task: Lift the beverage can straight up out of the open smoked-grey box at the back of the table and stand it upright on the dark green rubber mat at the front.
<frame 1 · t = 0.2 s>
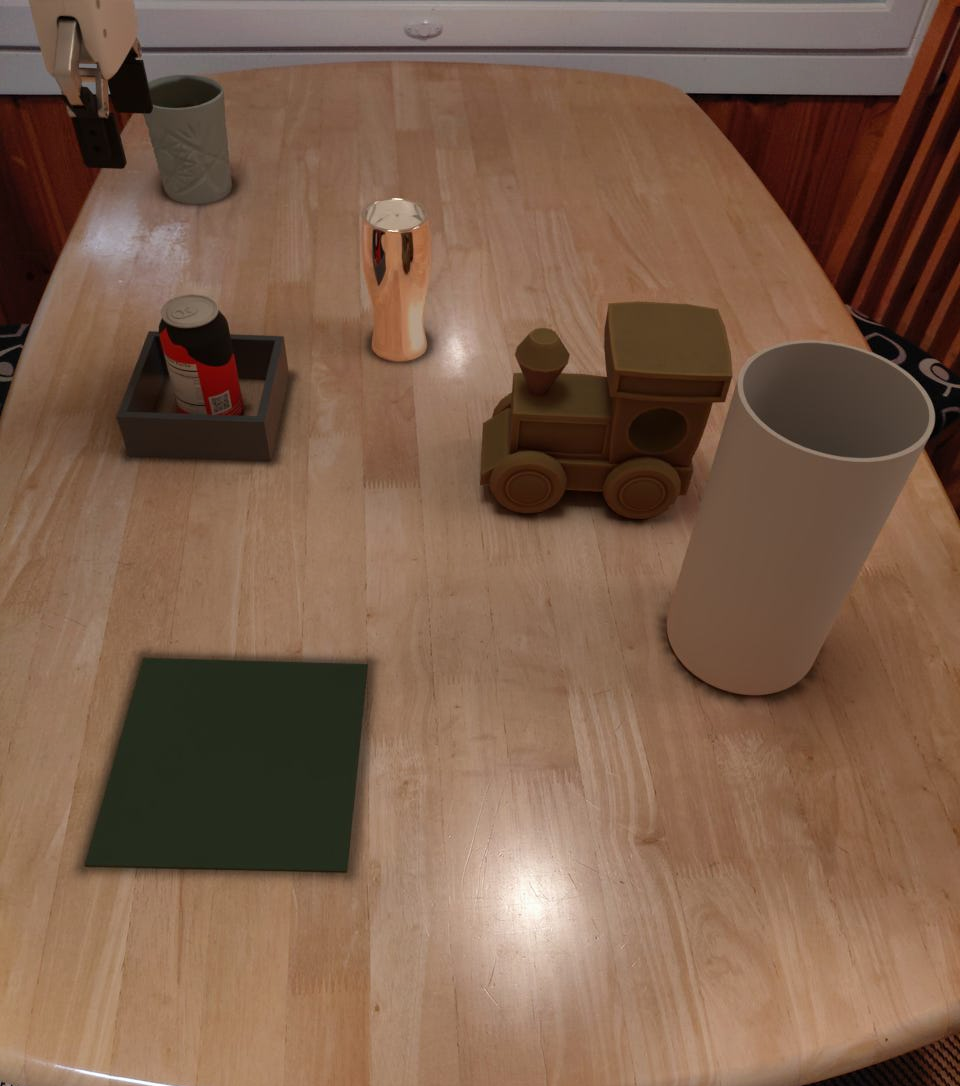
hand: (121, 138, 79), 26 cm above the table, tool pointing down, fingers open, 9 cm apart
beer glass: (399, 347, 106), on the table
box: (213, 415, 97), on the table
grey-green embossed pot: (199, 190, 126), on the table
wooden toy train: (583, 483, 93), on the table
cylinder vase: (737, 640, 82), on the table
beverage can: (213, 417, 97), resting in box
mat: (238, 759, 72), on the table
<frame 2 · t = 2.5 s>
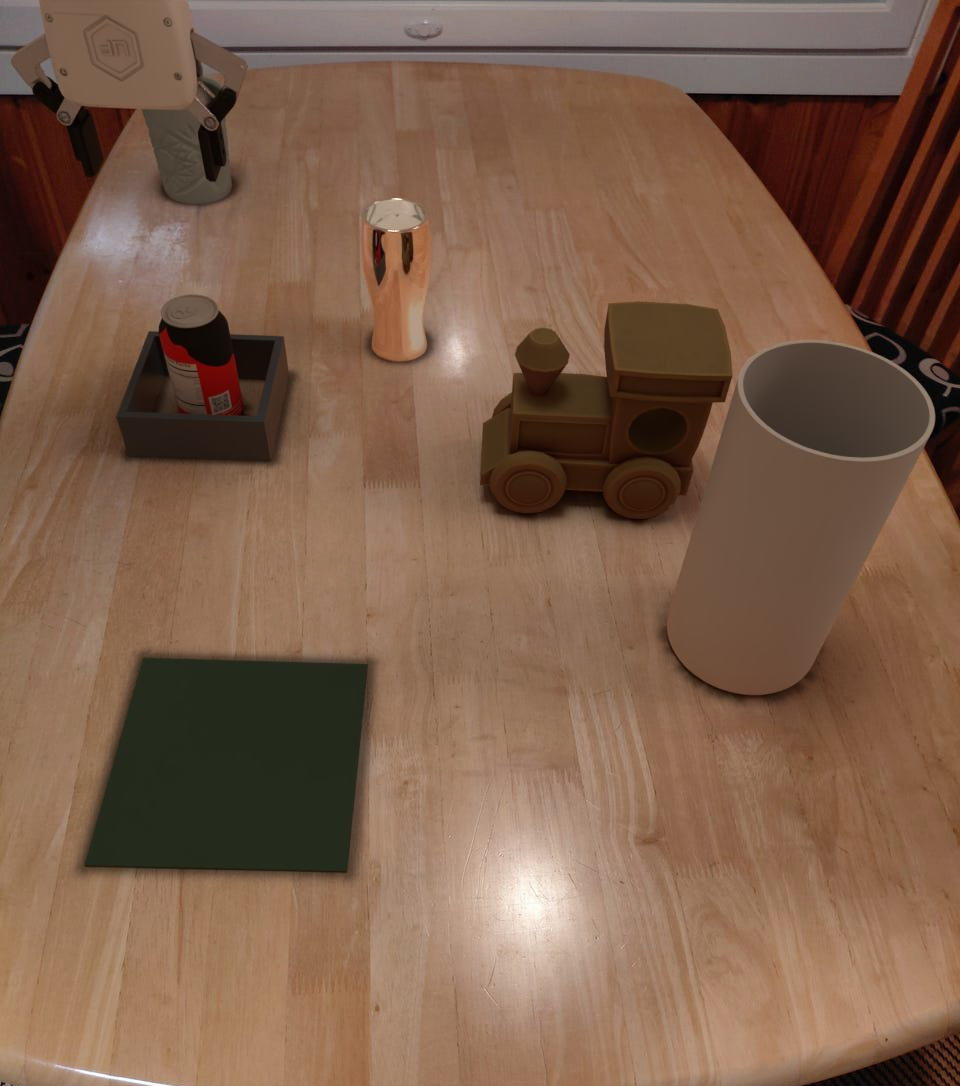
hand: (155, 171, 78), 24 cm above the table, tool pointing down, fingers open, 9 cm apart
nothing on the table moved.
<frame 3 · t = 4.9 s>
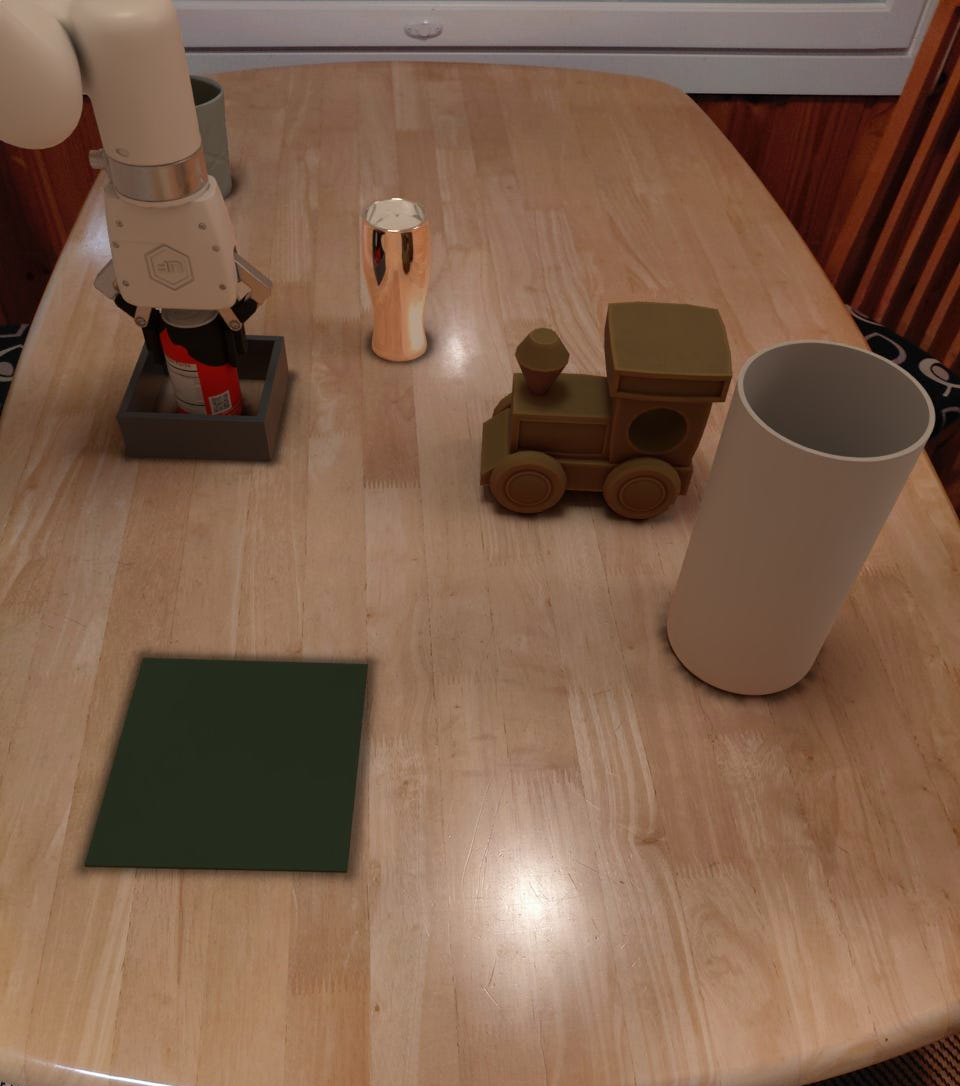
hand: (199, 356, 92), 7 cm above the table, tool pointing down, fingers closed on beverage can, 6 cm apart
beverage can: (213, 417, 97), resting in box, touching gripper
everything else where it was.
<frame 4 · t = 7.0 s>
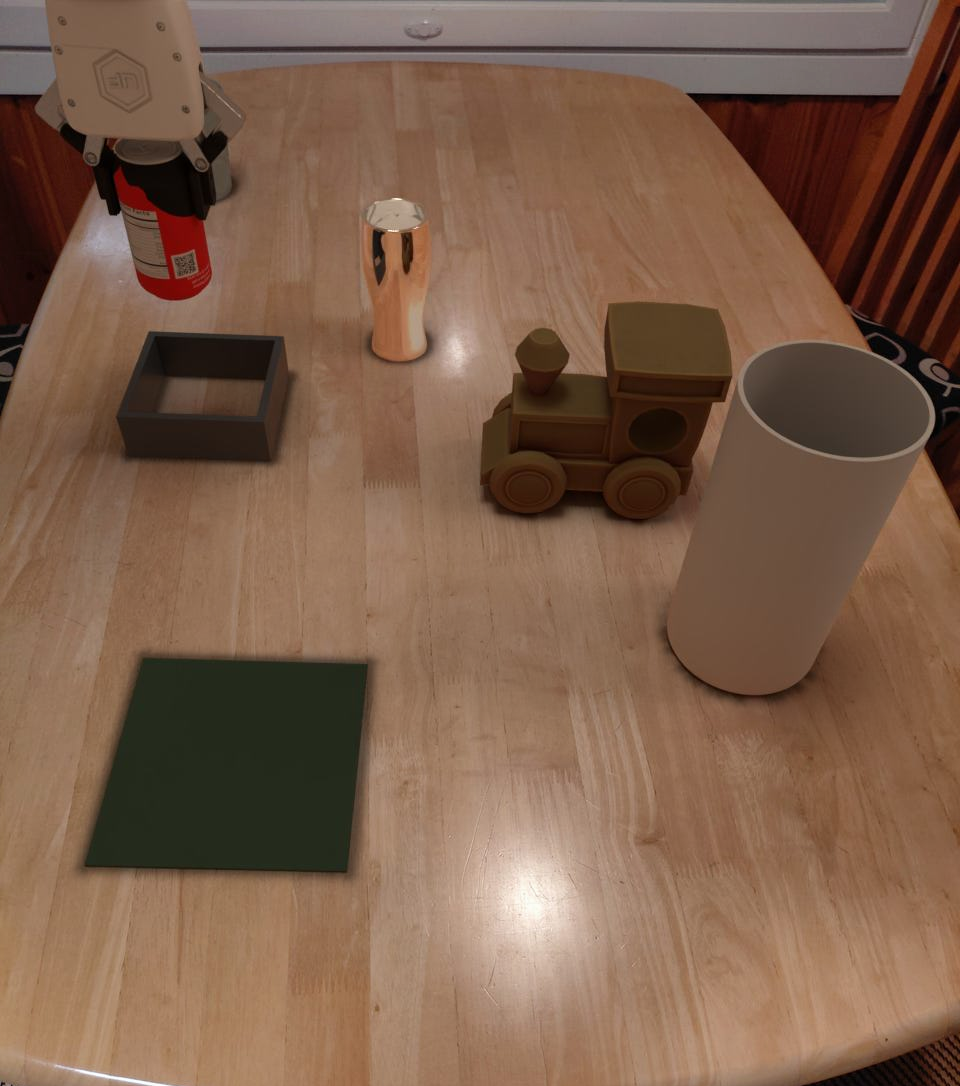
hand: (161, 208, 79), 22 cm above the table, tool pointing down, fingers closed on beverage can, 6 cm apart
beverage can: (177, 288, 85), point 15 cm above the table, touching gripper
everything else where it was.
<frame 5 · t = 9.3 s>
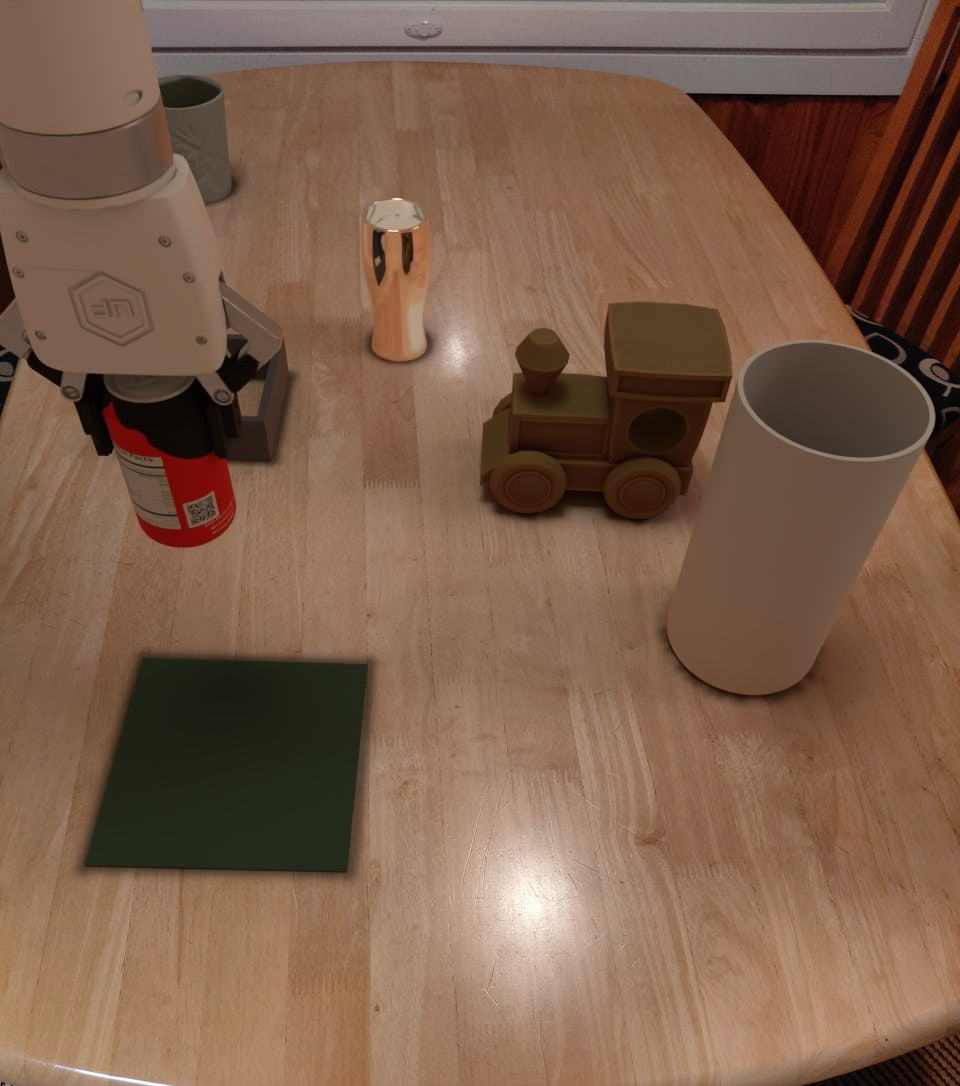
hand: (168, 440, 59), 24 cm above the table, tool pointing down, fingers closed on beverage can, 6 cm apart
beverage can: (191, 525, 64), point 17 cm above the table, touching gripper
everything else where it was.
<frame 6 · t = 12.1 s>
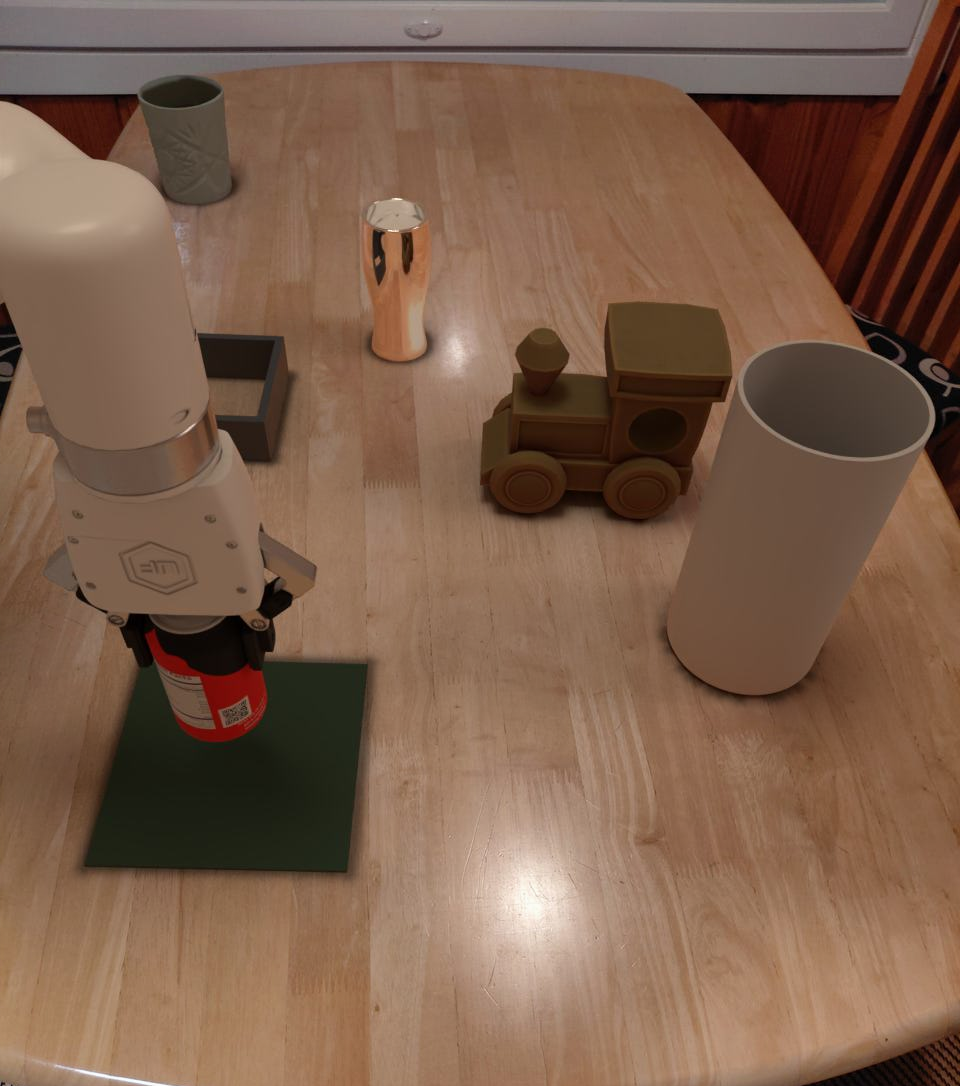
hand: (205, 650, 62), 13 cm above the table, tool pointing down, fingers closed on beverage can, 6 cm apart
beverage can: (224, 713, 68), point 6 cm above the table, touching gripper
everything else where it was.
when the fingers open (7 cm above the table, at t = 14.0 s): beverage can stays where it is, resting on mat.
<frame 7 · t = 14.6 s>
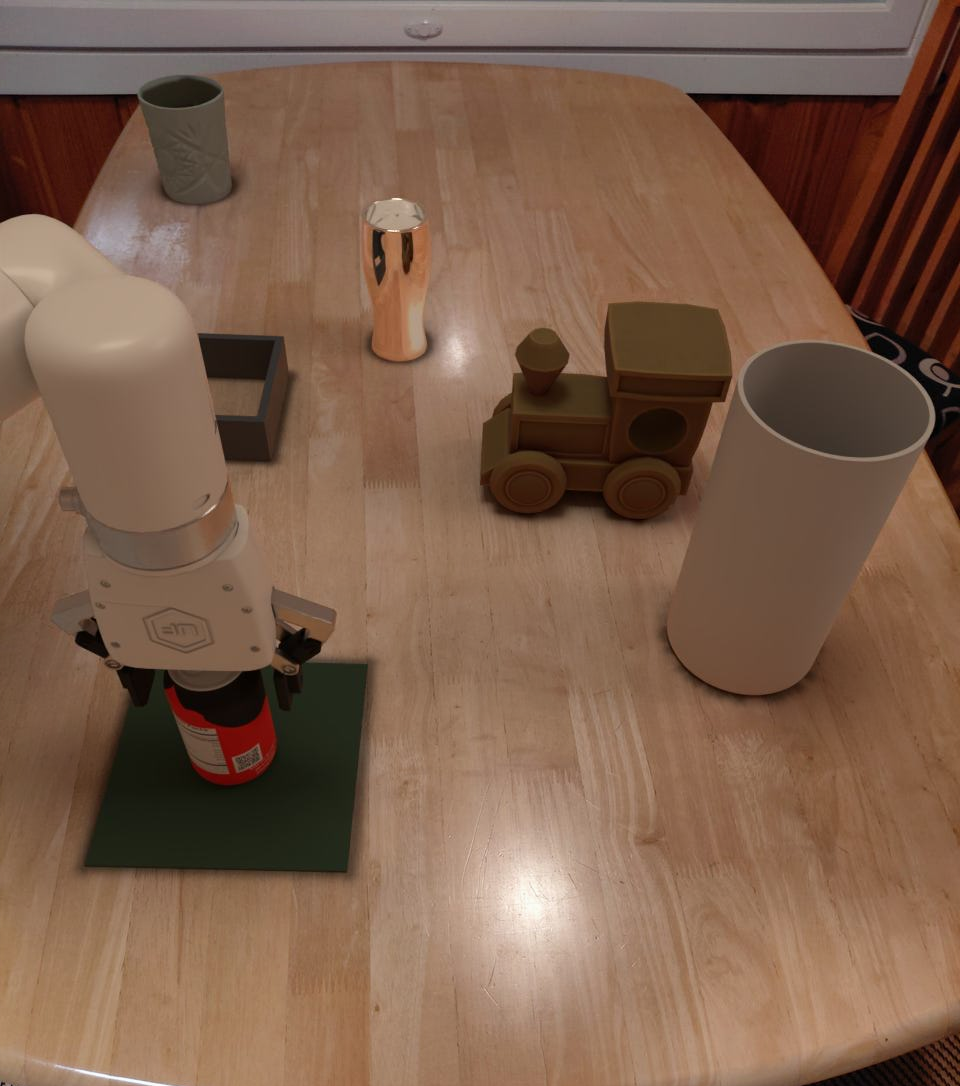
hand: (217, 691, 66), 9 cm above the table, tool pointing down, fingers open, 9 cm apart
beverage can: (236, 756, 72), resting on mat
everything else where it was.
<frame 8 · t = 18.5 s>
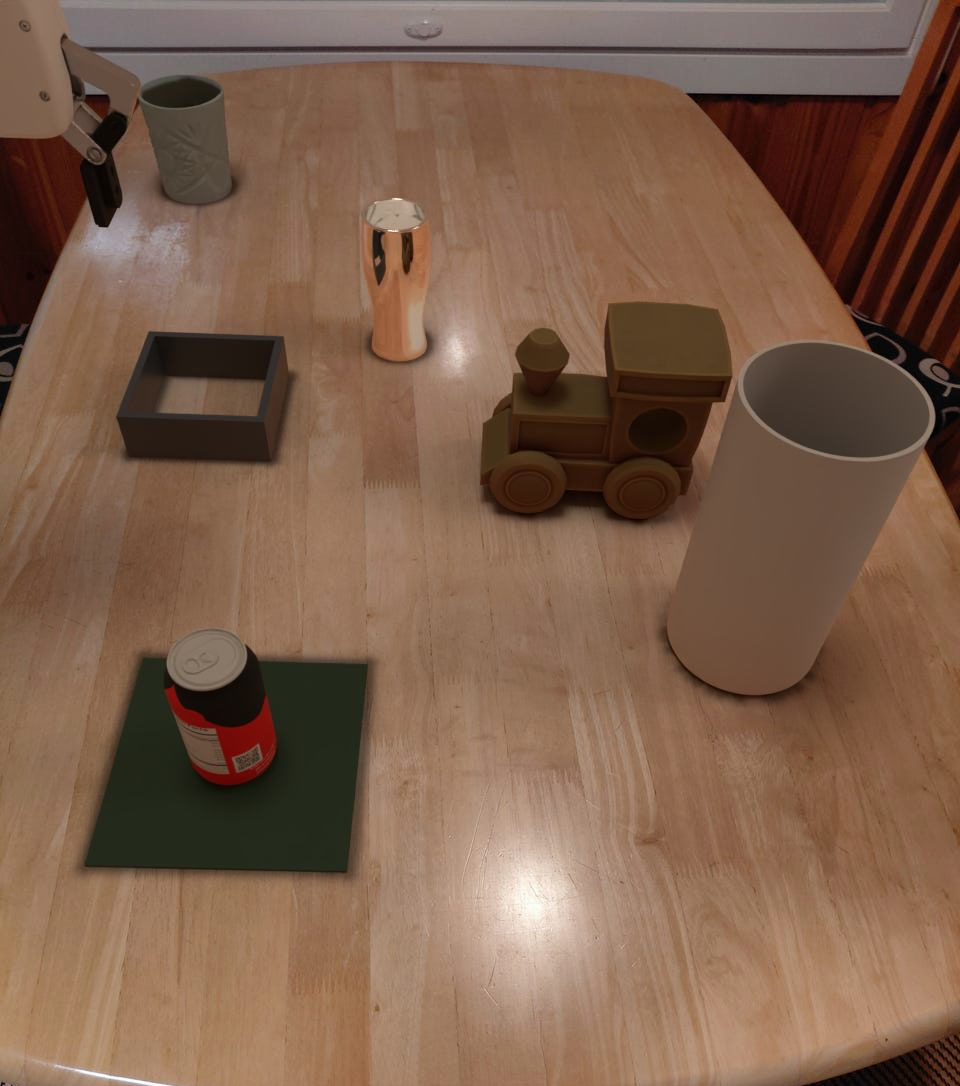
hand: (32, 213, 62), 30 cm above the table, tool pointing down, fingers open, 9 cm apart
nothing on the table moved.
at the end: beverage can inside the target area on the mat (0.1 cm from its centre), point 0.2 cm above the mat's base; beverage can tilted 0°; beverage can touching mat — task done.
